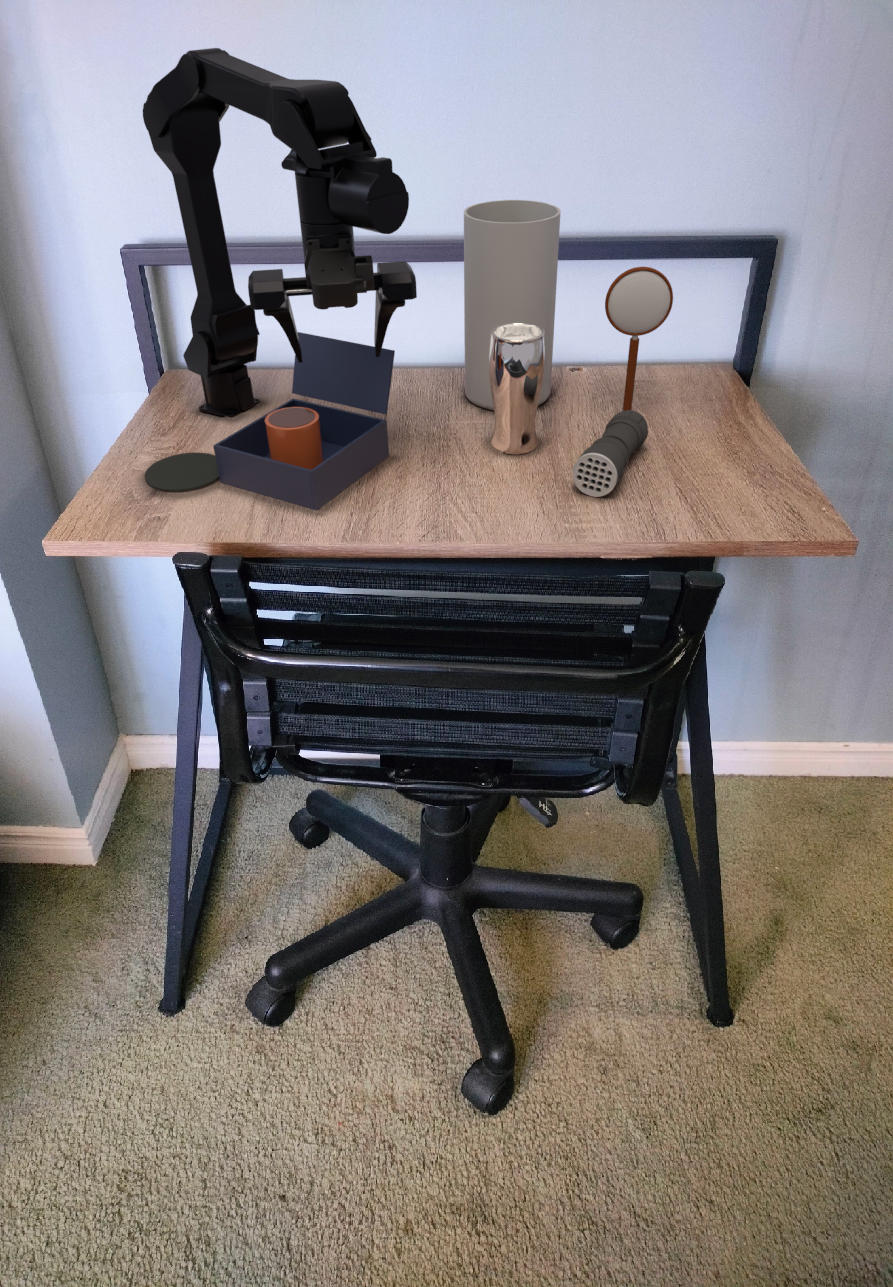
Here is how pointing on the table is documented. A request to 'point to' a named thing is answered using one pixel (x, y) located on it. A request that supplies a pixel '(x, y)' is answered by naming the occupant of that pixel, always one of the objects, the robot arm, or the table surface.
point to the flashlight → (610, 454)
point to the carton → (347, 458)
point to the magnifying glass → (637, 312)
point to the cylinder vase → (507, 282)
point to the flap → (343, 373)
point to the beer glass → (516, 384)
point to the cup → (295, 437)
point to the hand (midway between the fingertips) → (339, 358)
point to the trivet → (183, 473)
